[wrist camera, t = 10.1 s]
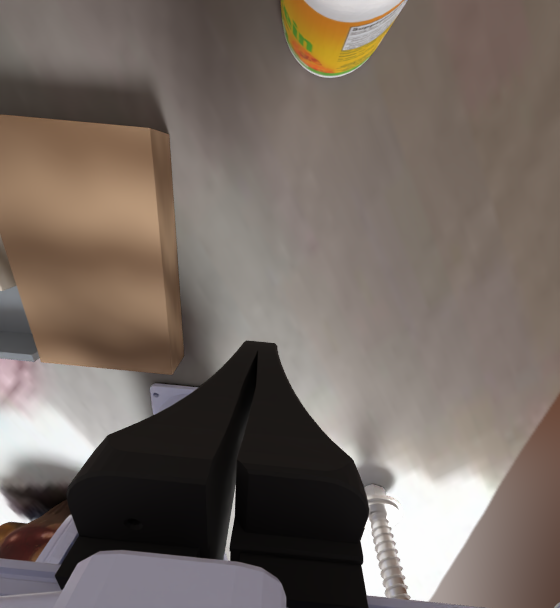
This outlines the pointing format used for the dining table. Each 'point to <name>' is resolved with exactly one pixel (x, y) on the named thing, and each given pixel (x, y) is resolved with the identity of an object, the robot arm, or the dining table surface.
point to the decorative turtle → (31, 534)
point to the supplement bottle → (336, 32)
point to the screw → (386, 539)
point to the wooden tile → (5, 270)
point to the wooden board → (93, 241)
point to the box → (15, 328)
